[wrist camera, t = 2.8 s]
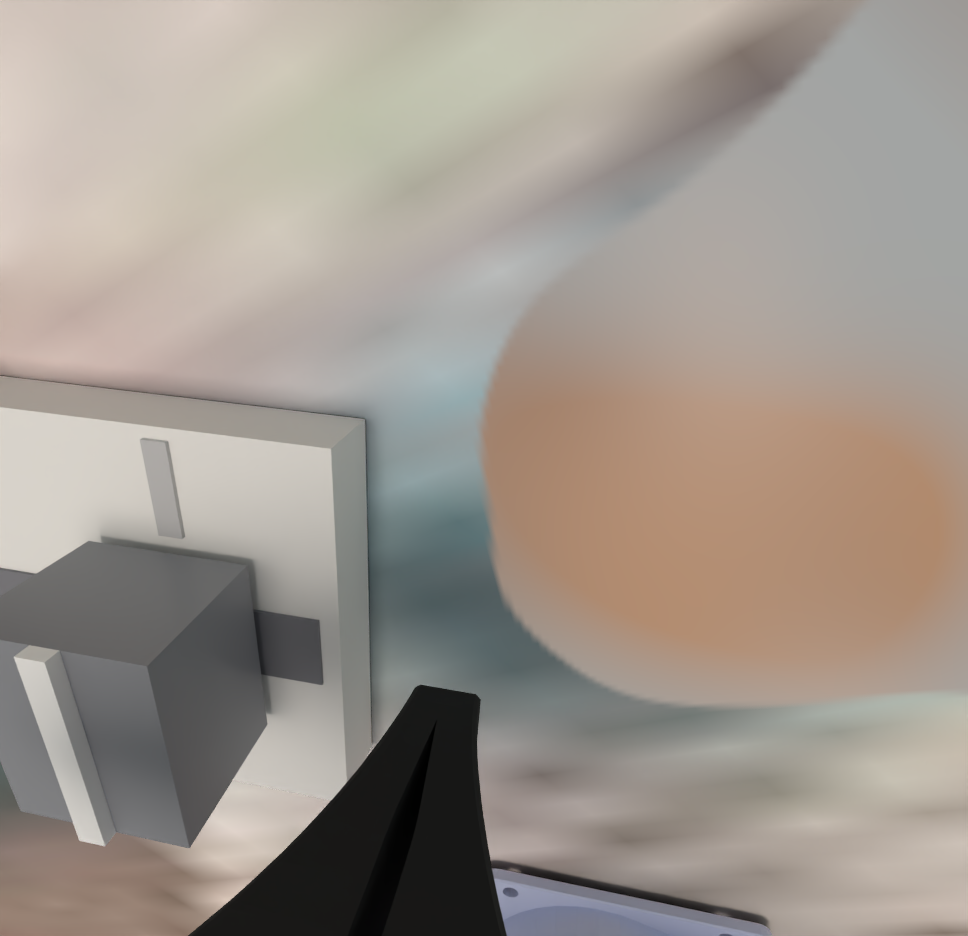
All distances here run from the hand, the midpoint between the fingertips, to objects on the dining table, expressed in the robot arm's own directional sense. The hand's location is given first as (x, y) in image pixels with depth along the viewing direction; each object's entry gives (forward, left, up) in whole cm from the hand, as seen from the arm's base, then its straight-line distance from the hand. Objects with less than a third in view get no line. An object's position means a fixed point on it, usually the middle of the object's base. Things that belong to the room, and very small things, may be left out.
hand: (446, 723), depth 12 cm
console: (+11, 0, -4) cm, 12 cm away
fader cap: (+7, 0, -1) cm, 7 cm away
